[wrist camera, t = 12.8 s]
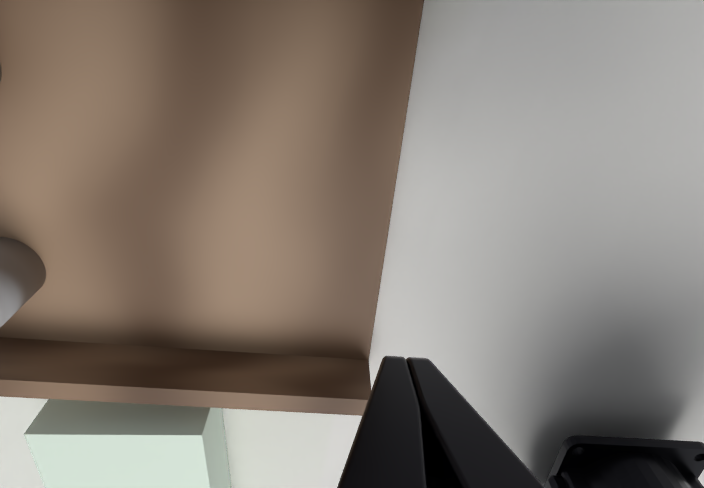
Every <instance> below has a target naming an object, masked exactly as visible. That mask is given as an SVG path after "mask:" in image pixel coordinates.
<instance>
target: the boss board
mask: <svg viewBox="0 0 704 488" xmlns="http://www.w3.org/2000/svg"><path fill="white" fill-rule="evenodd" d="M423 3H424V0H0V396H4V397H23V398H42V399H60V400H79V401H98V402H117V403H136V404H154V405H173V406H192V407H211V408H229V409H248V410H267V411H286V412H305V413H323V414H342V415H361V416H363V413H364V410H365V407H366V405H367V402H368V399H369V396H370V393H371V384H370V372H369V361H368V360H369V353H370V347H371V340H372V334H373V327H374V321H375V314H376V308H377V301H378V295H379V288H380V282H381V275H382V269H383V262H384V256H385V249H386V243H387V236H388V230H389V223H390V217H391V210H392V204H393V197H394V191H395V184H396V178H397V172H398V165H399V159H400V152H401V146H402V139H403V133H404V126H405V120H406V113H407V107H408V100H409V94H410V87H411V81H412V74H413V68H414V61H415V55H416V48H417V42H418V35H419V29H420V22H421V16H422V9H423Z"/></svg>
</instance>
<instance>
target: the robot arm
mask: <svg viewBox="0 0 704 488" xmlns="http://www.w3.org/2000/svg"><path fill="white" fill-rule="evenodd" d="M703 470H704V443H702V442H693V441H674V440H655V439H636V438H616V437H597V436H571V437H569V438H567V439H566V440H565V441H564V442H563V444H562V446H561V449H560V451H559V453H558V455H557V458H556V460H555V462H554V465H553V467H552V469H551V471H550V474H549V476H548V478H547V481H546V483H545V485H544V486H543V485H542V484H541V482H540V481H539V480H538V479H537V478H536V477H535V476H534V475H533V474H532V473H531V471H530V470H529V469H528V468H527V467H526V466H525V465H524V464H523V463H522V461H521V460H520V459H519V458H518V457H517V456H516V455H515V454H514V453H513V451H512V450H511V449H510V448H509V447H508V446H507V445H506V444H505V443H504V442H503V440H502V439H501V438H500V437H499V436H498V435H497V434H496V433H495V432H494V430H493V429H492V428H491V427H490V426H489V425H488V424H487V423H486V422H485V420H484V419H483V418H482V417H481V416H480V415H479V414H478V413H477V412H476V411H475V409H474V408H473V407H472V406H471V405H470V404H469V403H468V402H467V401H466V399H465V398H464V397H463V396H462V395H461V394H460V393H459V392H458V391H457V389H456V388H455V387H454V386H453V385H452V384H451V383H450V382H449V381H448V380H447V378H446V377H445V376H444V375H443V374H442V373H441V372H440V371H439V370H438V368H437V367H436V366H435V365H434V364H433V363H432V362H431V361H430V360H429V359H426V358H413V357H409V358H407V359H405V358H404V357H397V356H385V357H384V358H383V359H382V362H381V365H380V368H379V370H378V373H377V376H376V379H375V382H374V385H373V388H372V390H371V393H370V396H369V399H368V402H367V405H366V407H365V410H364V413H363V416H362V419H361V422H360V424H359V427H358V430H357V433H356V436H355V439H354V441H353V444H352V447H351V450H350V453H349V456H348V458H347V461H346V464H345V467H344V470H343V473H342V475H341V478H340V481H339V484H338V487H337V488H704V487H703V486H702V484H701V483H700V482H699V480H698V477H699V476H700V474H701V473H702V471H703Z"/></svg>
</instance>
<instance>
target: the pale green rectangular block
mask: <svg viewBox="0 0 704 488" xmlns="http://www.w3.org/2000/svg"><path fill="white" fill-rule="evenodd" d="M24 436H25V439H26V441H27V444H28V446H29V449H30V451H31V454H32V456H33V459H34V462H35V464H36V467H37V469H38V472H39V474H40V477H41V479H42V482H43V484H44V487H45V488H231V480H230V472H229V463H228V455H227V446H226V438H225V430H224V421H223V413H222V408H211V407H192V406H173V405H154V404H136V403H117V402H98V401H79V400H60V399H49V400H48V401H47V403H46V404H45V405H44V407H43V408H42V410H41V411H40V412H39V414H38V415H37V417H36V418H35V419H34V421H33V422H32V424H31V425H30V426H29V428H28V429H27V431H26V432H25V433H24Z"/></svg>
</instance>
